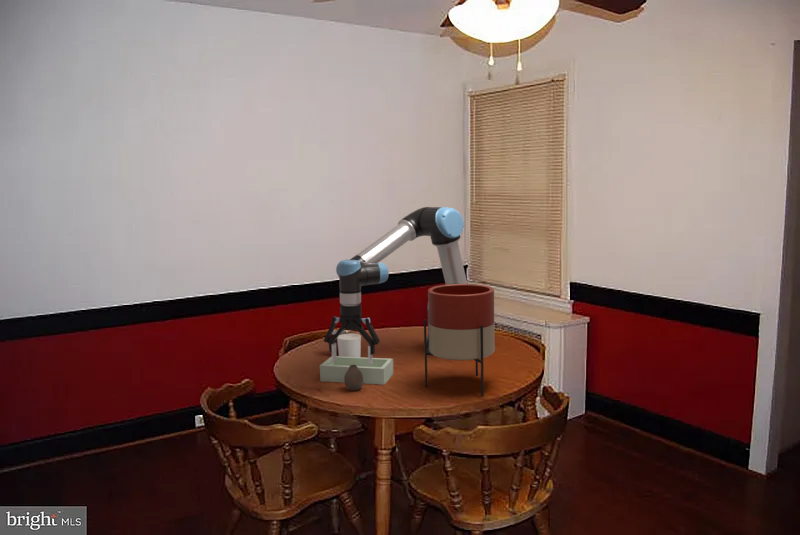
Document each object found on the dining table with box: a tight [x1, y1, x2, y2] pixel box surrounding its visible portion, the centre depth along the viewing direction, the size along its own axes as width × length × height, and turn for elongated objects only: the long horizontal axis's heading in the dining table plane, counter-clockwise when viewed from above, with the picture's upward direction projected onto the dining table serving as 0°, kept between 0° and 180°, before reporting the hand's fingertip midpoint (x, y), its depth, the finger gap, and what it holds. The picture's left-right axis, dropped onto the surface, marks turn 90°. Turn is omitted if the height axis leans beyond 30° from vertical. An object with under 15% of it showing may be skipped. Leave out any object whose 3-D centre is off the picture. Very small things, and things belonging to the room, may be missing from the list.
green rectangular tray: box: [319, 355, 394, 385], centre depth 241 cm, size 25×13×6 cm, turn 76°
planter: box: [423, 283, 496, 397], centre depth 226 cm, size 24×25×35 cm
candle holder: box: [337, 333, 362, 357], centre depth 257 cm, size 10×10×12 cm
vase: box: [343, 365, 364, 392], centre depth 228 cm, size 7×7×9 cm
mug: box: [330, 329, 347, 356], centre depth 273 cm, size 11×8×10 cm
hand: (352, 362), depth 227 cm, fingers open, 13 cm apart
